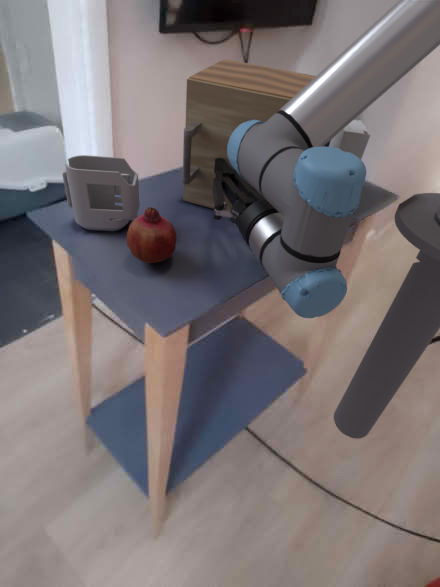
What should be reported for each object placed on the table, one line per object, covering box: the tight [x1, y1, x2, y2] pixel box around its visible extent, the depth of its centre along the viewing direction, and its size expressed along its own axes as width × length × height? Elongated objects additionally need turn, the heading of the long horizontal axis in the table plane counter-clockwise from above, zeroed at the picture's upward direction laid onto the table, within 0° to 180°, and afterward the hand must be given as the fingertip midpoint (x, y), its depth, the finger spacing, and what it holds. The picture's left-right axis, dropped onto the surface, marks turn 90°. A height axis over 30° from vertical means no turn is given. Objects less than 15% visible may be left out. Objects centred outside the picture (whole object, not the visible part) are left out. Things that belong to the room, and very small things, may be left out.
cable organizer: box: [62, 154, 141, 232], centre depth 70 cm, size 7×12×12 cm, turn 93°
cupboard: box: [188, 58, 317, 99], centre depth 80 cm, size 18×24×24 cm
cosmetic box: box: [328, 119, 371, 160], centre depth 89 cm, size 8×6×15 cm
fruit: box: [125, 206, 178, 264], centre depth 64 cm, size 8×8×10 cm
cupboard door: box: [181, 77, 291, 210], centre depth 71 cm, size 6×24×23 cm, turn 70°
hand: (218, 165), depth 74 cm, fingers closed
